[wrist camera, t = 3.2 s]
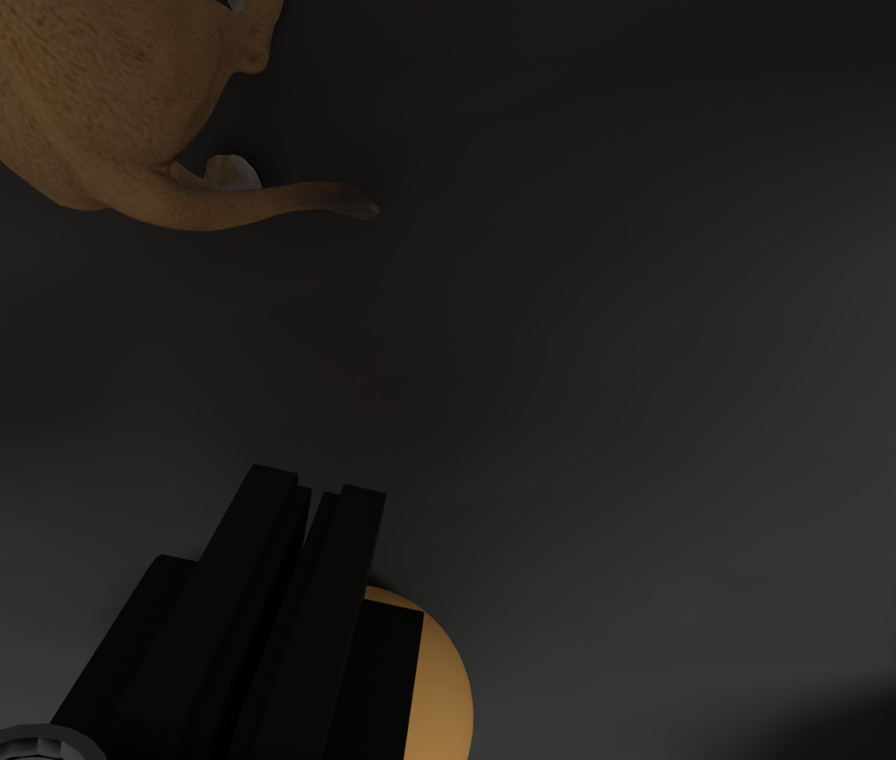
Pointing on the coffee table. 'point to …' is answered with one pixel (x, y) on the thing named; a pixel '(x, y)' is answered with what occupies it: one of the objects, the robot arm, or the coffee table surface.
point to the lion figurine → (140, 109)
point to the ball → (435, 692)
